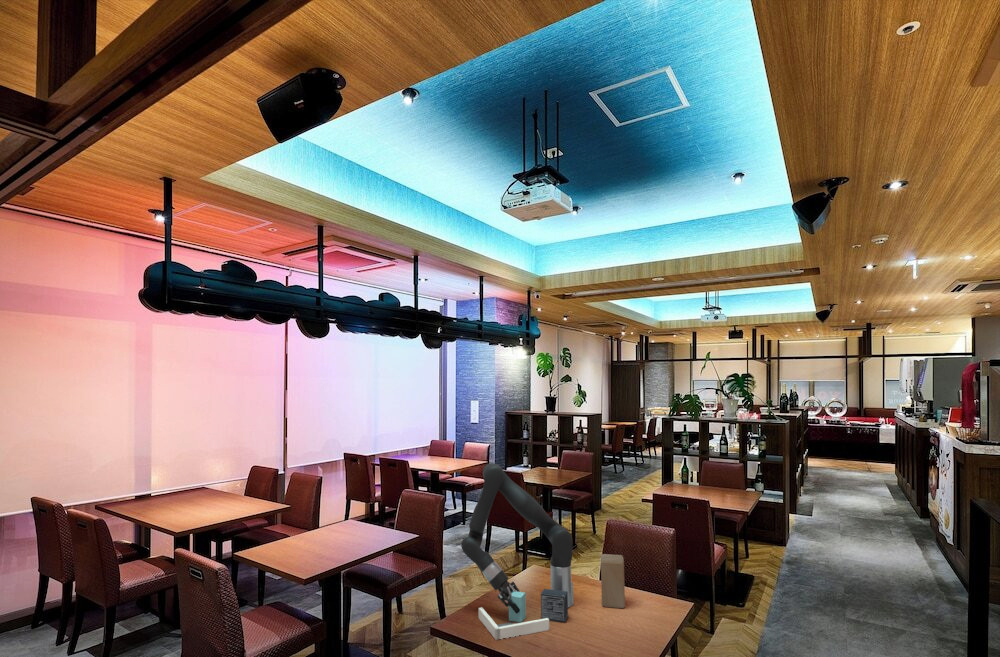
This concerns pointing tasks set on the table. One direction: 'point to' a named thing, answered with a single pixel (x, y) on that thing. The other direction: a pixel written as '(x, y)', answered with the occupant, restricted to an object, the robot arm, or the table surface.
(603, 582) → the block
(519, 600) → the teal block
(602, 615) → the table surface
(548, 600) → the small box
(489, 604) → the table surface
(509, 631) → the white l-shaped bracket
